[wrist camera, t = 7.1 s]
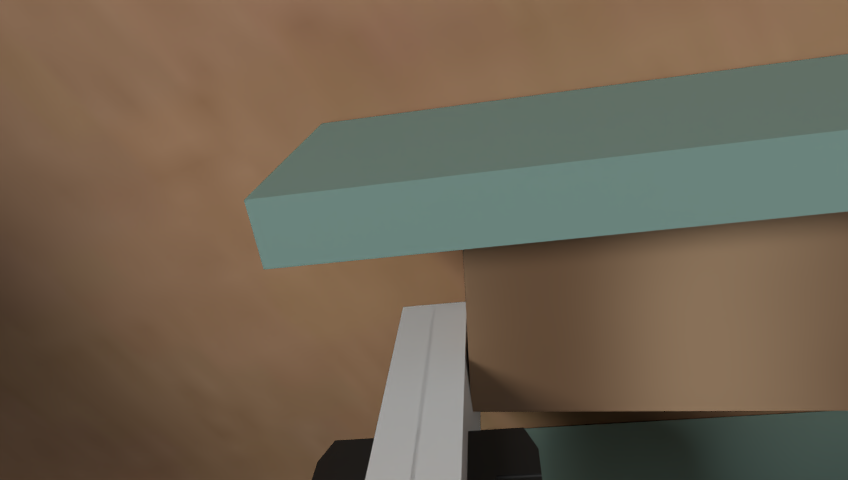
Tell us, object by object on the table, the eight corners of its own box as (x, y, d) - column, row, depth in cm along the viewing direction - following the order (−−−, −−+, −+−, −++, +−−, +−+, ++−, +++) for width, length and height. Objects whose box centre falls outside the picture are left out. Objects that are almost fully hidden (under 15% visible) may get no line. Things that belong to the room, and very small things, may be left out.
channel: (397, 467, 18) (368, 637, 13) (321, 123, 14) (244, 200, 9) (1084, 433, 15) (1337, 626, 11) (1243, 1, 11) (1755, 24, 7)
